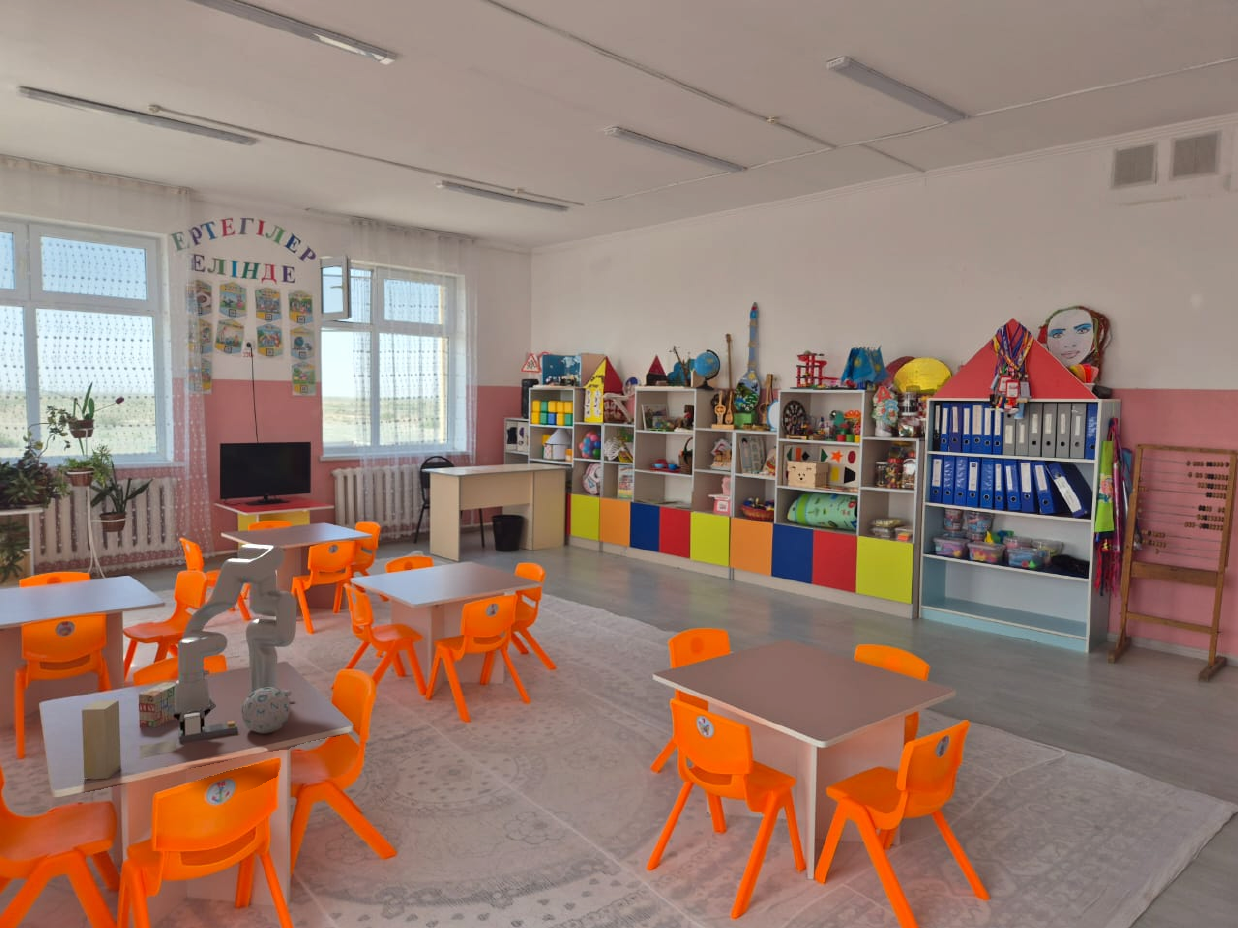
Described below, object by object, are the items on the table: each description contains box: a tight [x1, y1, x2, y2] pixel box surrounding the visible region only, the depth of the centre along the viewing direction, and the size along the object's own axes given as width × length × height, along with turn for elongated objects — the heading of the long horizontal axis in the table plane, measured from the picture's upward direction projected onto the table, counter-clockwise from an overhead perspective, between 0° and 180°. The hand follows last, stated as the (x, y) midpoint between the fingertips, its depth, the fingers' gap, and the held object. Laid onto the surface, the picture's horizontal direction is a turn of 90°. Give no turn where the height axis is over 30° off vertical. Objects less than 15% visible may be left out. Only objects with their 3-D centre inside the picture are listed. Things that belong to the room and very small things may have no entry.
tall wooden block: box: [81, 699, 122, 780], centre depth 245 cm, size 8×7×21 cm
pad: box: [139, 739, 178, 759], centre depth 261 cm, size 10×10×1 cm
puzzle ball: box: [241, 687, 291, 735], centre depth 278 cm, size 15×15×15 cm
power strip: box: [177, 720, 238, 743], centre depth 273 cm, size 17×6×4 cm, turn 121°
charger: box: [184, 711, 201, 735], centre depth 271 cm, size 4×6×7 cm
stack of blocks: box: [138, 681, 192, 728], centre depth 290 cm, size 21×6×12 cm, turn 169°
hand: (192, 729), depth 271 cm, fingers closed on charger, 4 cm apart
